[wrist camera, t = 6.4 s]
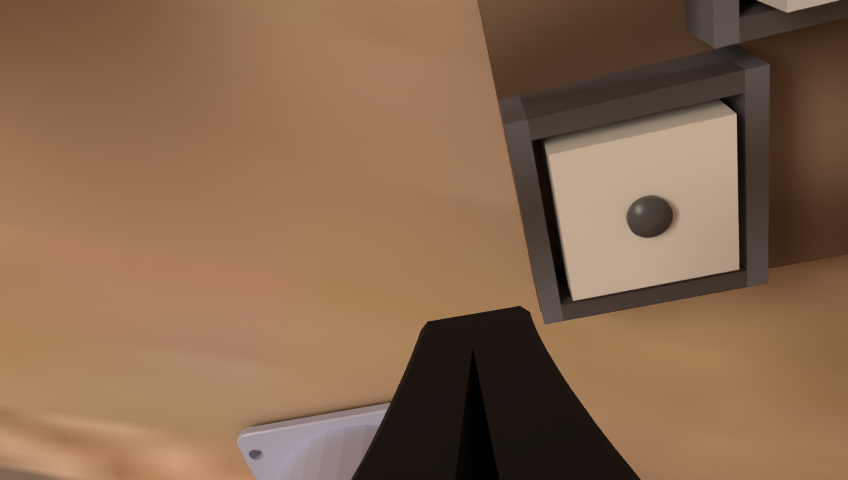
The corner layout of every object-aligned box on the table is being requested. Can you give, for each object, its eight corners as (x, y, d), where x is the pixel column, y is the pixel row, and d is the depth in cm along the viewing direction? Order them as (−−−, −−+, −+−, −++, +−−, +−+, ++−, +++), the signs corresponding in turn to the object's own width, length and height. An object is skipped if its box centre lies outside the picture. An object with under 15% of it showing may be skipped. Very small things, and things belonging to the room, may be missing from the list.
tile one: (709, 229, 17) (742, 273, 16) (560, 259, 18) (574, 305, 16) (703, 86, 16) (740, 116, 14) (536, 124, 16) (550, 158, 14)
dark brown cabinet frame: (1075, 184, 18) (1182, 237, 15) (535, 288, 20) (549, 351, 17) (1237, -443, 12) (1459, -531, 9) (437, -202, 14) (436, -217, 11)
